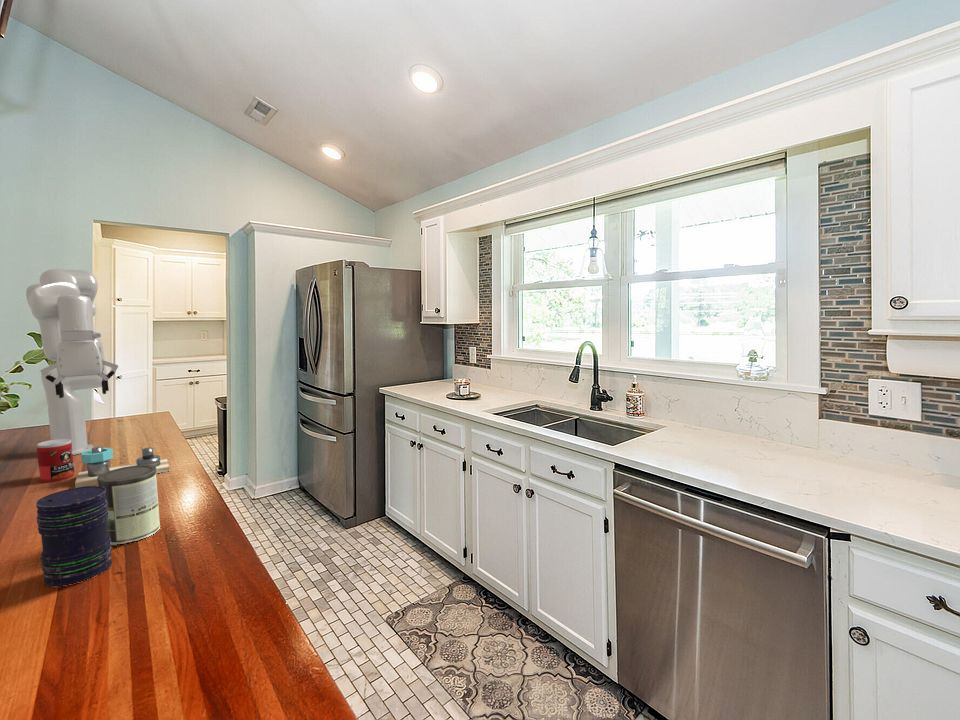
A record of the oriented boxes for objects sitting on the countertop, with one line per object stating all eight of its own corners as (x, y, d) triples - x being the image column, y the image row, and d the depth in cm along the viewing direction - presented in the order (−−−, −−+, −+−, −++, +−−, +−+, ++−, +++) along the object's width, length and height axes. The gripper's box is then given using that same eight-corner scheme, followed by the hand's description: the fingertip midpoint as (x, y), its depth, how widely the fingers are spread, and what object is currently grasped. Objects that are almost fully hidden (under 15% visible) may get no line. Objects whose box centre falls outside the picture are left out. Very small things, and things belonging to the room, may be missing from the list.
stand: (88, 473, 137) (86, 447, 136) (110, 470, 140) (108, 444, 139) (87, 478, 133) (85, 451, 132) (109, 474, 136) (107, 448, 135)
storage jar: (109, 553, 94) (103, 482, 92) (116, 572, 87) (109, 495, 85) (42, 572, 87) (34, 495, 85) (43, 594, 80) (35, 511, 78)
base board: (79, 477, 138) (78, 472, 138) (167, 462, 151) (167, 458, 151) (75, 488, 129) (74, 483, 129) (169, 471, 142) (169, 467, 142)
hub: (136, 465, 144) (135, 448, 144) (160, 461, 148) (158, 444, 147) (136, 470, 140) (135, 452, 139) (160, 466, 143) (159, 449, 143)
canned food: (54, 483, 133) (50, 446, 132) (32, 481, 135) (28, 445, 134) (81, 474, 141) (78, 439, 140) (60, 472, 142) (57, 438, 141)
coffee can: (90, 547, 96) (84, 481, 95) (124, 524, 106) (119, 465, 105) (142, 544, 97) (137, 479, 96) (170, 522, 107) (166, 464, 106)
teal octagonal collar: (83, 458, 137) (82, 450, 137) (113, 454, 141) (112, 446, 141) (81, 464, 131) (80, 456, 131) (112, 459, 135) (111, 451, 135)
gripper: (116, 336, 143) (121, 391, 144) (39, 339, 132) (45, 397, 134) (114, 336, 137) (120, 393, 138) (34, 338, 126) (41, 400, 128)
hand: (83, 395), depth 136 cm, fingers open, 9 cm apart
